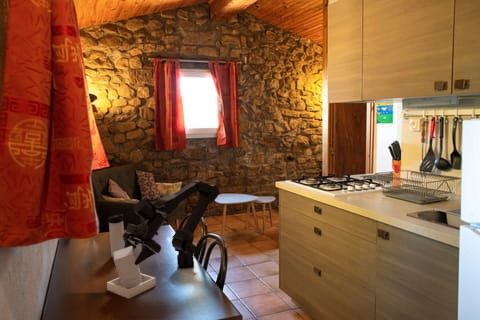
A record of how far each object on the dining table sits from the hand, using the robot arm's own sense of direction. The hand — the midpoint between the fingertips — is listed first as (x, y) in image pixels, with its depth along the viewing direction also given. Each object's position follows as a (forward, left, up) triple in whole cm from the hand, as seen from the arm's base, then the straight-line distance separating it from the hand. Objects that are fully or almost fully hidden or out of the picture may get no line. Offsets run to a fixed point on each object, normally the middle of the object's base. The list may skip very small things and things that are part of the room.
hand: (128, 261), depth 141 cm
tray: (0, 0, -10) cm, 10 cm away
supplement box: (-1, -1, -8) cm, 9 cm away
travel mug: (+12, -36, -10) cm, 39 cm away
